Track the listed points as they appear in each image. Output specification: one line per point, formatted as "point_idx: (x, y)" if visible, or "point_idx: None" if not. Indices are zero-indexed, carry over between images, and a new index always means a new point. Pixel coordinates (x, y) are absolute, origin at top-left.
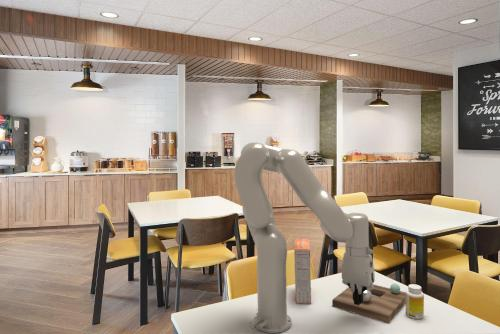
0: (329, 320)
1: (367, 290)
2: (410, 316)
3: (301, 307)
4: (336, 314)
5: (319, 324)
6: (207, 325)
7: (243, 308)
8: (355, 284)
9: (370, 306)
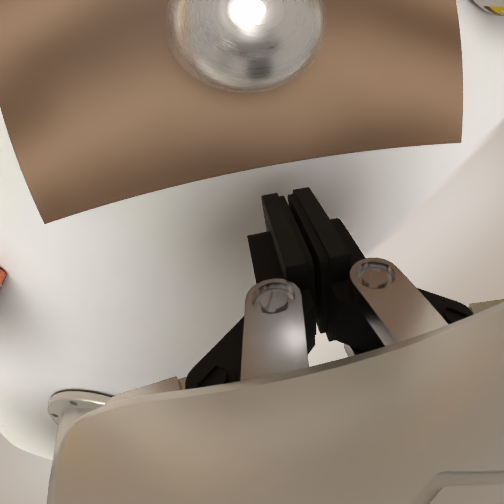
0: (184, 319)
1: (295, 11)
2: (487, 11)
3: (24, 319)
4: (156, 255)
5: (185, 360)
6: None
7: (5, 404)
8: (288, 364)
9: (325, 84)
